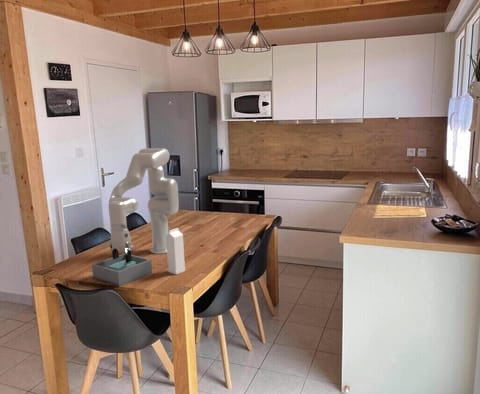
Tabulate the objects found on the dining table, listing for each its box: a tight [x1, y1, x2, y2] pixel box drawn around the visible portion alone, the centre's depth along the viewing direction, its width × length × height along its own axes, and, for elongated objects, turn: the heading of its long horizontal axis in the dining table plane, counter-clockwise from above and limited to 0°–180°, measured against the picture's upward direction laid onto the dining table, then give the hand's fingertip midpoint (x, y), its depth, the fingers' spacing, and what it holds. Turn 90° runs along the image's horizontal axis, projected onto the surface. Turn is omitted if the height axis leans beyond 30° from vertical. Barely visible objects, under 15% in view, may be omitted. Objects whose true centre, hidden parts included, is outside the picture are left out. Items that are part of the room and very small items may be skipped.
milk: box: [166, 227, 186, 275], centre depth 208 cm, size 6×6×22 cm
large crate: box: [91, 252, 153, 288], centre depth 206 cm, size 20×20×7 cm
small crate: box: [108, 260, 136, 271], centre depth 206 cm, size 11×7×5 cm, turn 144°
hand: (122, 260), depth 206 cm, fingers open, 9 cm apart
